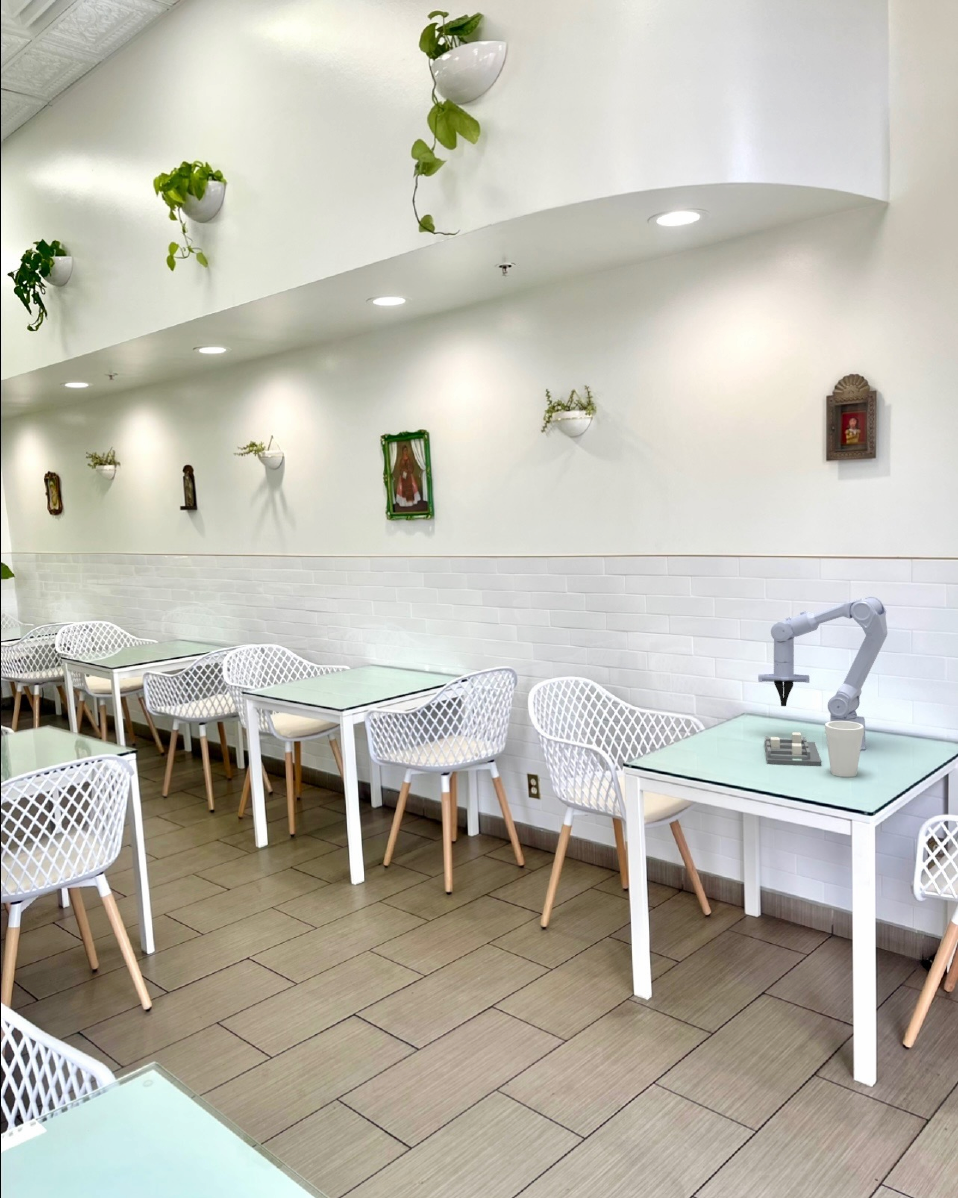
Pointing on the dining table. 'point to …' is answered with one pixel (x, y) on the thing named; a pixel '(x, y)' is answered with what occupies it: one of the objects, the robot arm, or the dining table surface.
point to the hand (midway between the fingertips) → (783, 705)
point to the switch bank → (785, 753)
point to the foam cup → (844, 746)
